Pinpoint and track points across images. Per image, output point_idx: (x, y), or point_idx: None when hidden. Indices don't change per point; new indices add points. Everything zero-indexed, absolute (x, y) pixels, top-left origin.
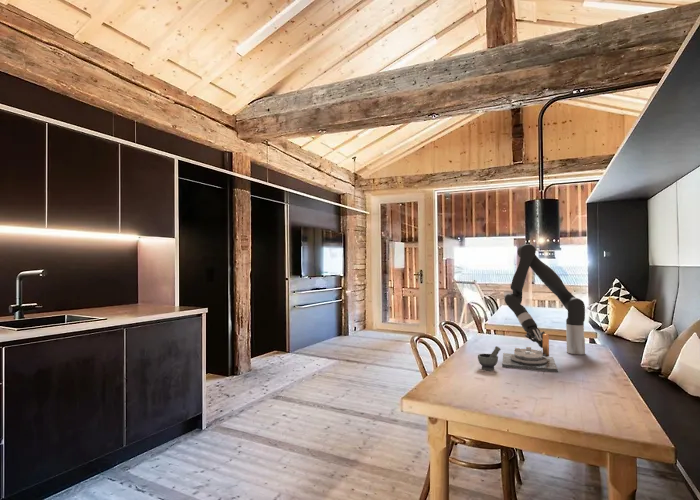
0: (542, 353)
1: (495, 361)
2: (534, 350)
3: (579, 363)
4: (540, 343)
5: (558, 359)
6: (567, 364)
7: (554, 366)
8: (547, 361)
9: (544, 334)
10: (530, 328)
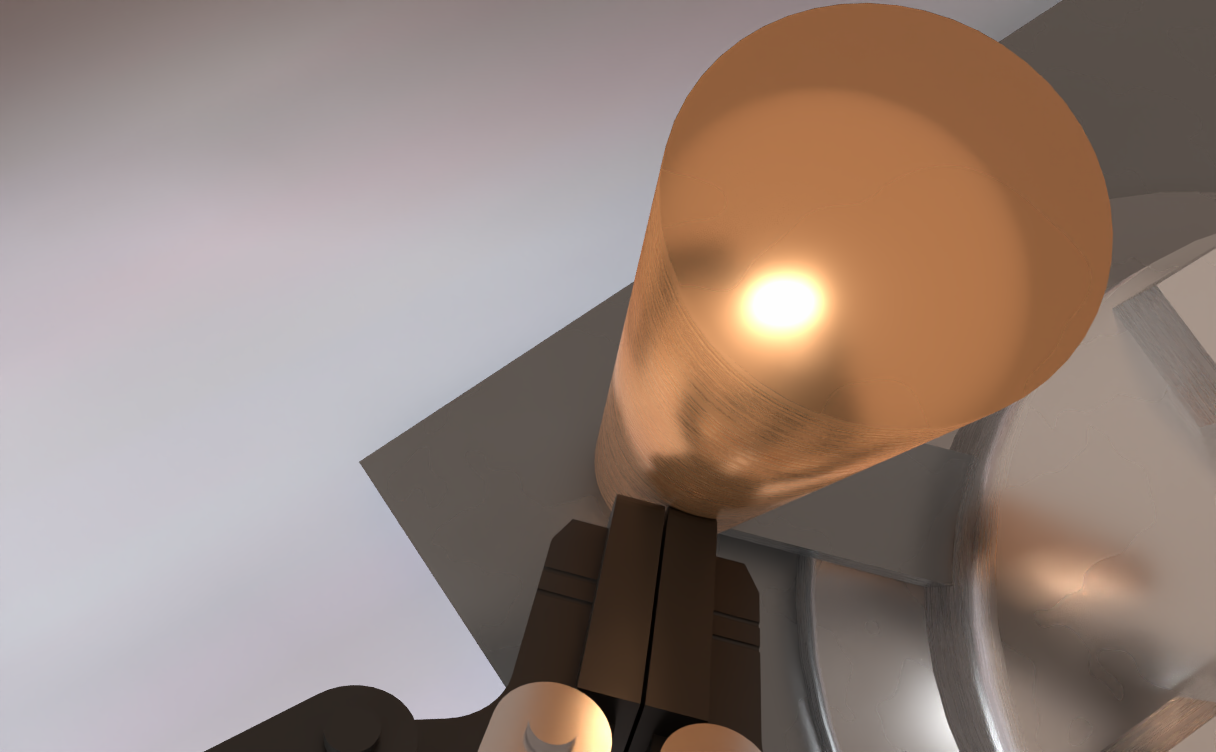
0: (1169, 254)
1: None
2: (1096, 606)
3: (210, 4)
4: (732, 642)
5: (214, 424)
6: (500, 96)
7: (1107, 18)
8: None
9: (1020, 210)
10: None
